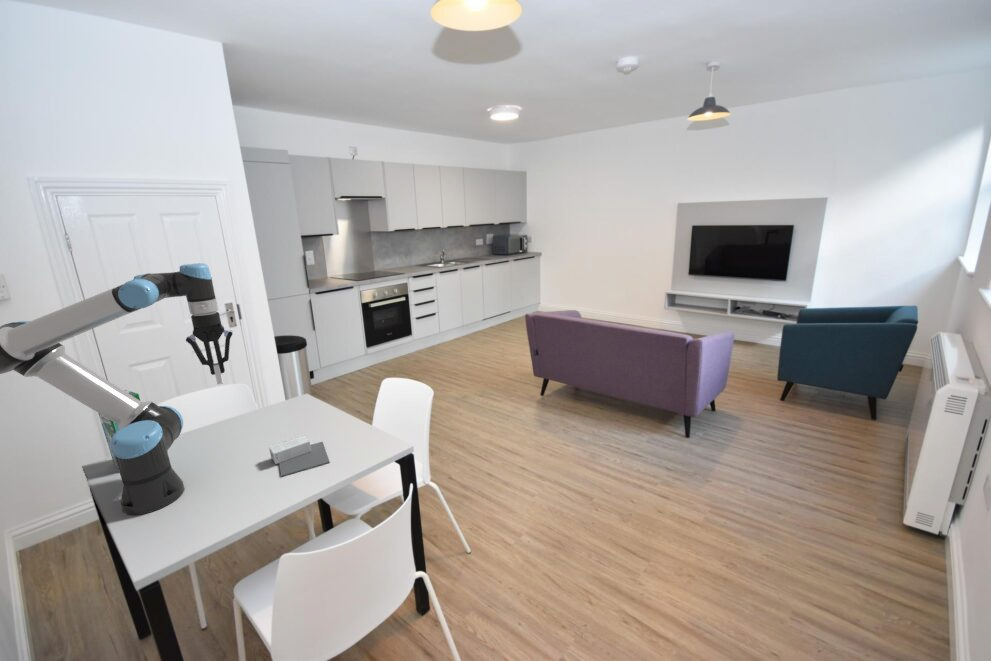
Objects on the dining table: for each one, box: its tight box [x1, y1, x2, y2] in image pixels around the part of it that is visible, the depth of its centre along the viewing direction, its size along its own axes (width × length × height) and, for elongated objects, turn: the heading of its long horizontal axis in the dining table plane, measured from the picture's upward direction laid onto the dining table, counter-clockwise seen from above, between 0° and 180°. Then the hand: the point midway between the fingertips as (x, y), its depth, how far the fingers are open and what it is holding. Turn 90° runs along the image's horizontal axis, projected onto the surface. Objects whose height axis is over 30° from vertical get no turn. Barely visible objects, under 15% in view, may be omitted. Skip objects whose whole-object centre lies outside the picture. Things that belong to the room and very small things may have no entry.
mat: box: [278, 441, 331, 478], centre depth 150 cm, size 15×16×1 cm
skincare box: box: [268, 435, 311, 465], centre depth 152 cm, size 6×4×12 cm
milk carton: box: [97, 389, 141, 467], centre depth 150 cm, size 9×9×25 cm
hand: (220, 382), depth 143 cm, fingers closed
